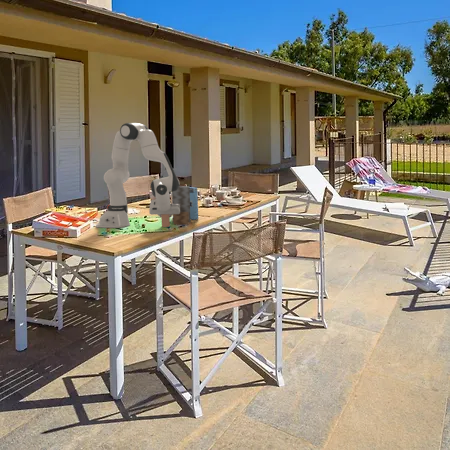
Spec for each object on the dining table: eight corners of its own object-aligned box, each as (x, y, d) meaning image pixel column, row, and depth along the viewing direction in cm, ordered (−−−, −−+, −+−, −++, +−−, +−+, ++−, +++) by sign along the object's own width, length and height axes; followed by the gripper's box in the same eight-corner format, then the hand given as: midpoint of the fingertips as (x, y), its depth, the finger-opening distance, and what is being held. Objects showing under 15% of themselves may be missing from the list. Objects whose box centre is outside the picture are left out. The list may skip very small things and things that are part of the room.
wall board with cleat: (172, 224, 343) (171, 188, 338) (173, 222, 352) (172, 186, 347) (189, 224, 343) (189, 188, 338) (190, 222, 352) (189, 186, 347)
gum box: (198, 218, 364) (197, 187, 360) (194, 220, 360) (193, 188, 356) (177, 216, 375) (176, 185, 371) (173, 217, 371) (172, 186, 367)
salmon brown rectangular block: (161, 226, 336) (161, 209, 334) (162, 225, 340) (161, 208, 338) (169, 226, 336) (168, 209, 334) (169, 225, 340) (169, 208, 338)
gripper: (180, 200, 328) (181, 212, 339) (148, 200, 327) (150, 212, 339) (179, 207, 324) (181, 220, 336) (147, 208, 324) (150, 220, 335)
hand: (165, 216), depth 337 cm, fingers closed on salmon brown rectangular block, 5 cm apart
